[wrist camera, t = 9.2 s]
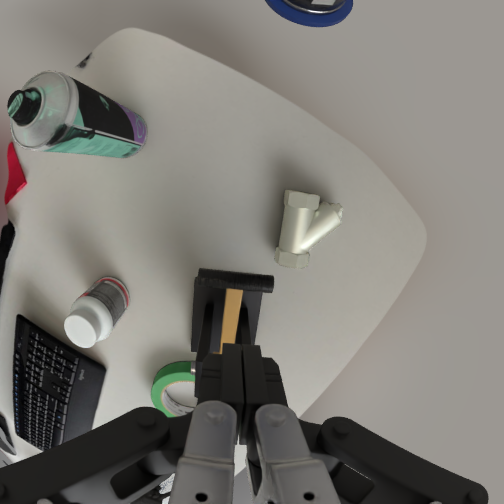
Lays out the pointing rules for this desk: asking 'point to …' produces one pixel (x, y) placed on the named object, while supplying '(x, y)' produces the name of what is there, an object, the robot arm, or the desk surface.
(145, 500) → the walkie-talkie
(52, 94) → the spray can
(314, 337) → the desk surface
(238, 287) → the faucet lever
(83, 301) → the pill bottle
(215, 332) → the black mounting base
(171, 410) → the tape roll
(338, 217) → the pipe fitting
